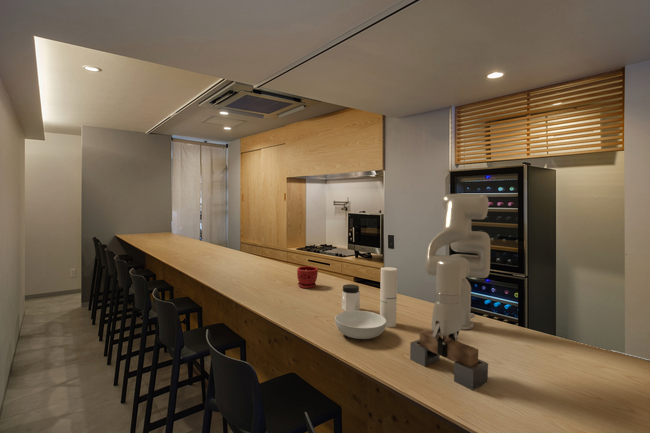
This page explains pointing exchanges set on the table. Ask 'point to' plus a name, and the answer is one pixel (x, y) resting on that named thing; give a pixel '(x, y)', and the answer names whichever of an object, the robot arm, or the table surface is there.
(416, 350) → the bracket
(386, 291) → the cylindrical container
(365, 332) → the serving bowl
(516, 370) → the table surface
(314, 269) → the plant pot
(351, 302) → the jar
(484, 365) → the bracket
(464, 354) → the walnut rail
